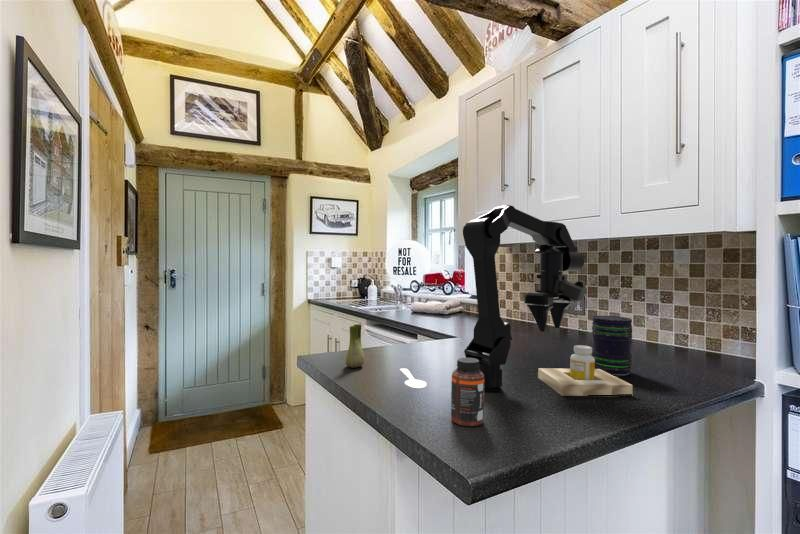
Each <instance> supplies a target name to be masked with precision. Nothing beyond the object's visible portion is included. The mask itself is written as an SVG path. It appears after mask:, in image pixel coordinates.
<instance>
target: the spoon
mask: <svg viewBox="0 0 800 534" xmlns="http://www.w3.org/2000/svg"><path fill="white" fill-rule="evenodd" d="M399 371H400V372H401V373H403V375H404V376H405V377H406V378H407V379H406V380H405V381H404V385H405V386H406V387H409V388H411V389H412V388H413V389H425V388H427V386H428V383H427V382H426V380H422V379H416V378H415V377H414V376H413V374H412V373H411V371H410V370H409V369H408V368H407V367H405V368H404V367H402V368H399Z"/></svg>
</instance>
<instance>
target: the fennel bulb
mask: <svg viewBox="0 0 800 534" xmlns="http://www.w3.org/2000/svg"><path fill="white" fill-rule="evenodd" d="M347 350H348V351H347V353H346V358H345V365H346V366H347V367H348V368H351V369H355V368H360V367H362V366H363V365H364V362H365V355H364V351H363V346H362V323H356V324H353V325H350V326H349V346H348V349H347Z"/></svg>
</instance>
